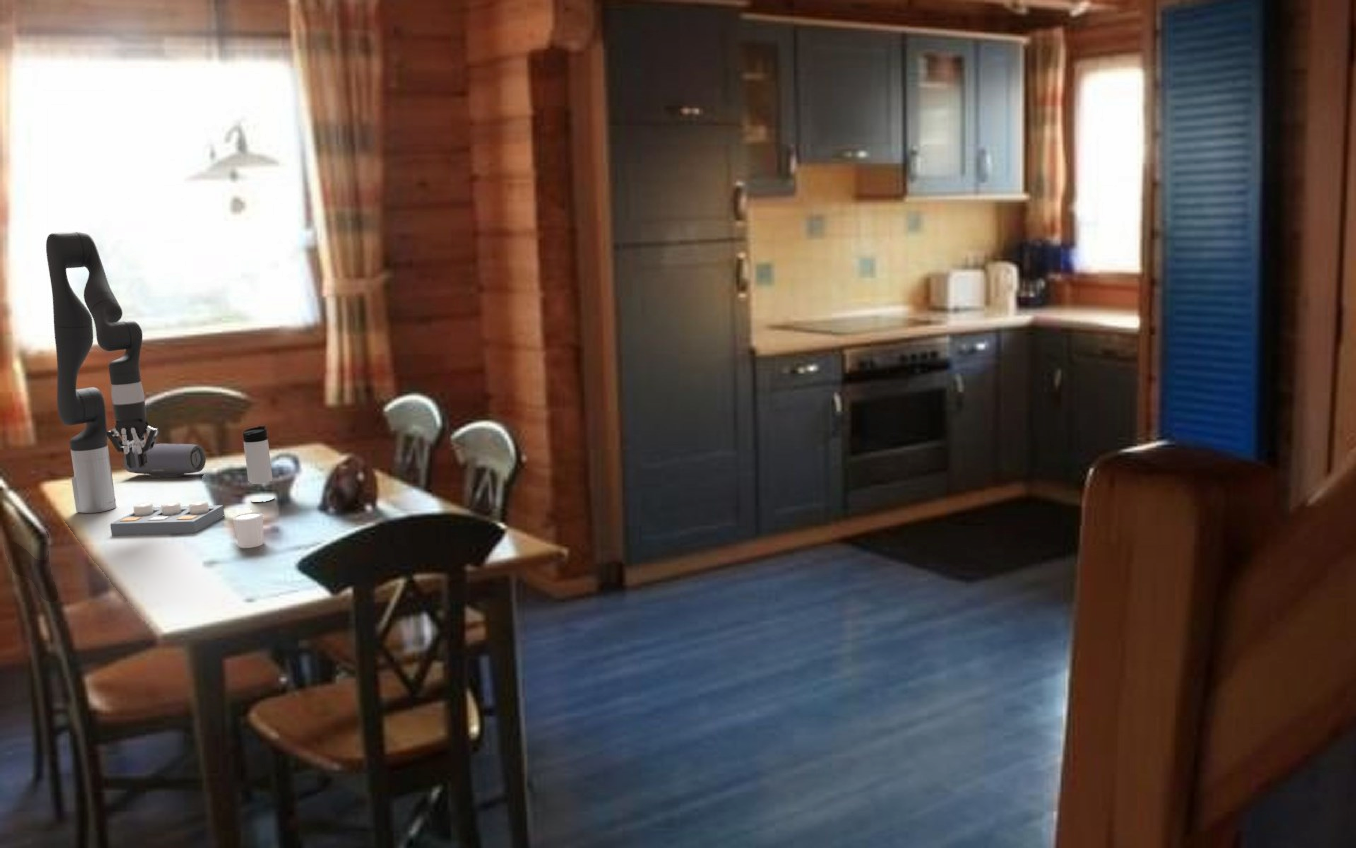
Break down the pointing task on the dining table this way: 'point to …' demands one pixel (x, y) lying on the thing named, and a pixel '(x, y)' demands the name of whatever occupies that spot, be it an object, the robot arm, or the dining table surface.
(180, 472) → the bluetooth speaker
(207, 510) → the button
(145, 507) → the button
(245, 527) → the white cup
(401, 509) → the dining table surface
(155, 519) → the button board
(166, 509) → the middle button
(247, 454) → the travel mug
